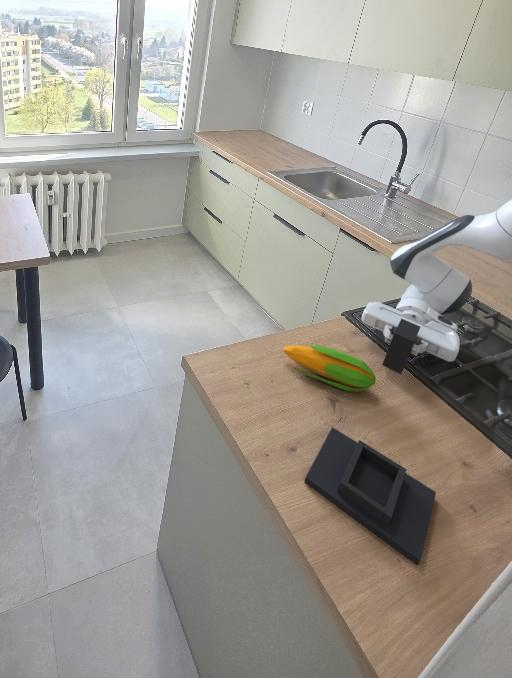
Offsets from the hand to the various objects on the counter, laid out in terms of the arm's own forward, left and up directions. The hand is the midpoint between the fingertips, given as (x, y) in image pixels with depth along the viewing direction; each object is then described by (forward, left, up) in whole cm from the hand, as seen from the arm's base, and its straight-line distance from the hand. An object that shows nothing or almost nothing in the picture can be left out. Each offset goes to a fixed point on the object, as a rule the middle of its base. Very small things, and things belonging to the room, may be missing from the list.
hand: (401, 346), depth 98 cm
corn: (+7, +16, -8) cm, 19 cm away
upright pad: (0, -1, -6) cm, 6 cm away
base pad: (-13, +32, -8) cm, 35 cm away
